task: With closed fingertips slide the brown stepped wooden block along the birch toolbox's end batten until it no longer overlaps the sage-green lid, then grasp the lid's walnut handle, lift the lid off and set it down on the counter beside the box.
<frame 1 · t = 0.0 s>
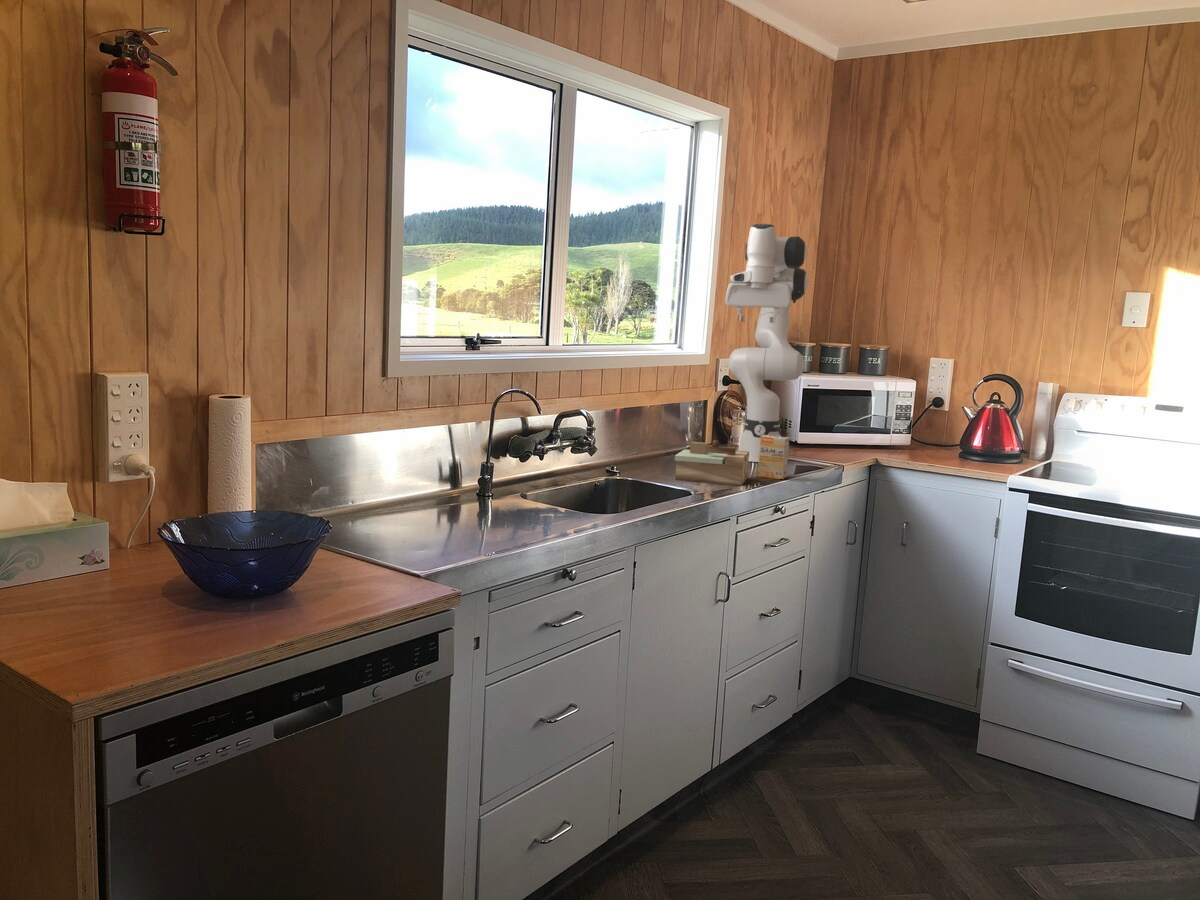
hand: (757, 322, 299), 48 cm above the counter, fingers open, 8 cm apart
supplement box: (772, 478, 301), on the counter
toolbox: (711, 479, 294), on the counter
lid: (702, 459, 294), point 6 cm above the counter, touching toolbox
brown stepped wooden block: (722, 447, 290), point 11 cm above the counter, slide at 0.0 cm
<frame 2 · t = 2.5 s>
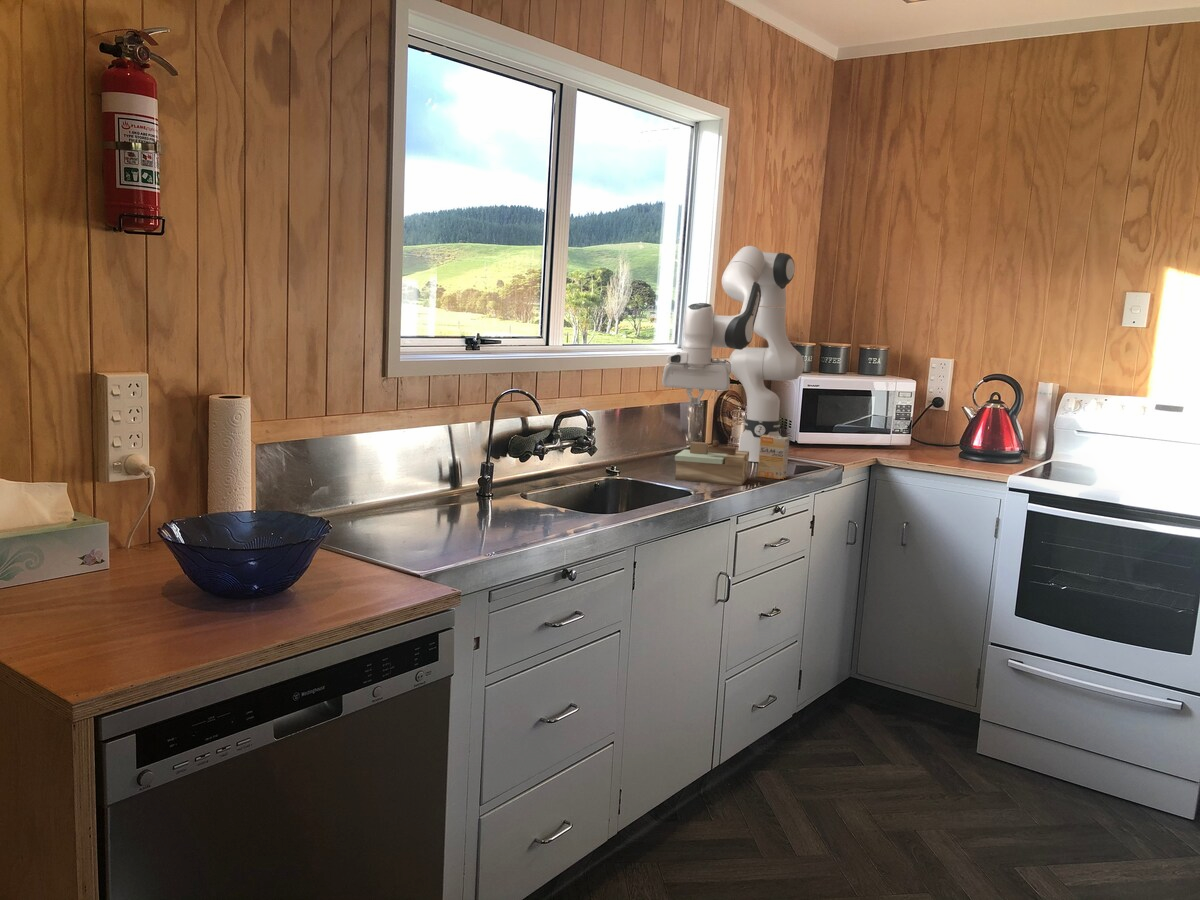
hand: (694, 403, 290), 23 cm above the counter, fingers closed
nothing on the counter moved.
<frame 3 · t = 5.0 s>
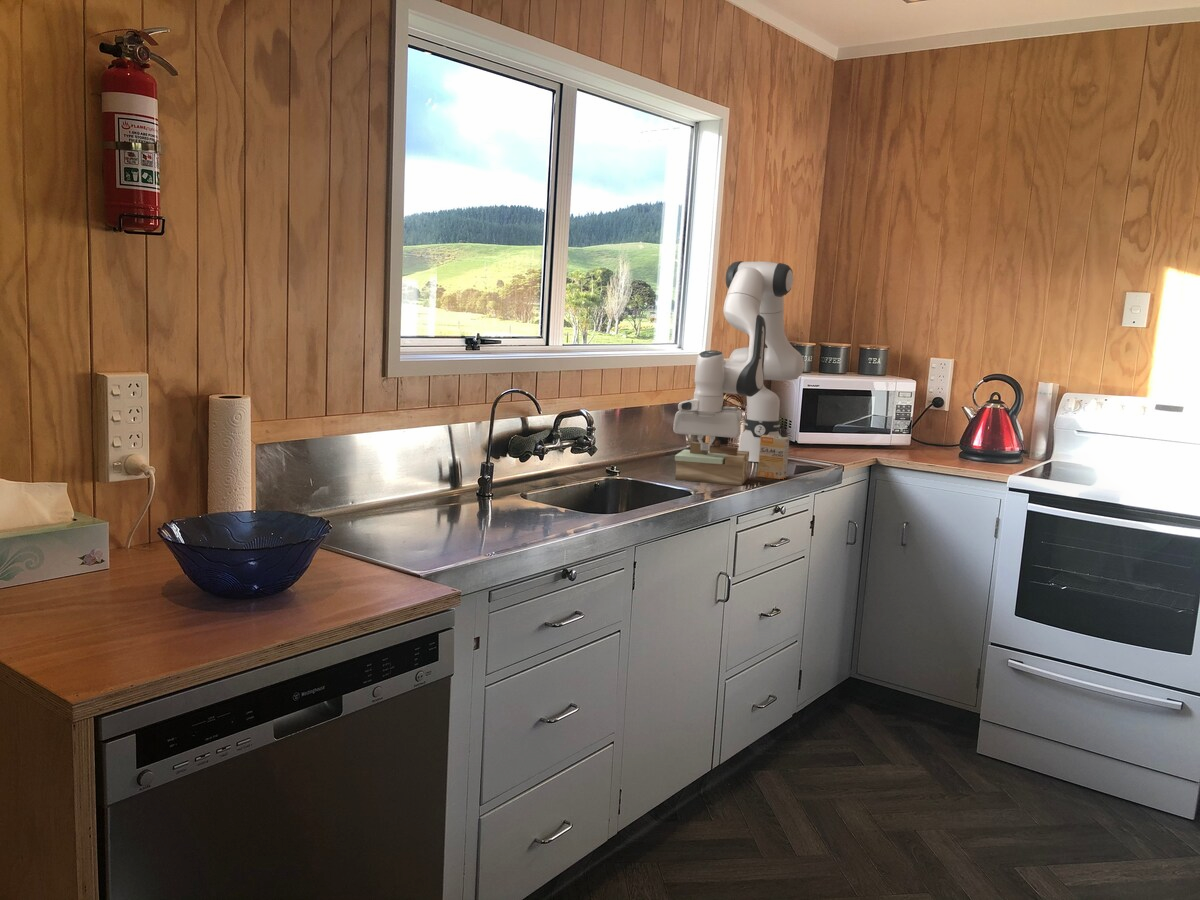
hand: (705, 450, 291), 9 cm above the counter, fingers closed
brown stepped wooden block: (723, 447, 289), point 10 cm above the counter, slide at 0.5 cm, touching gripper
everything else where it was.
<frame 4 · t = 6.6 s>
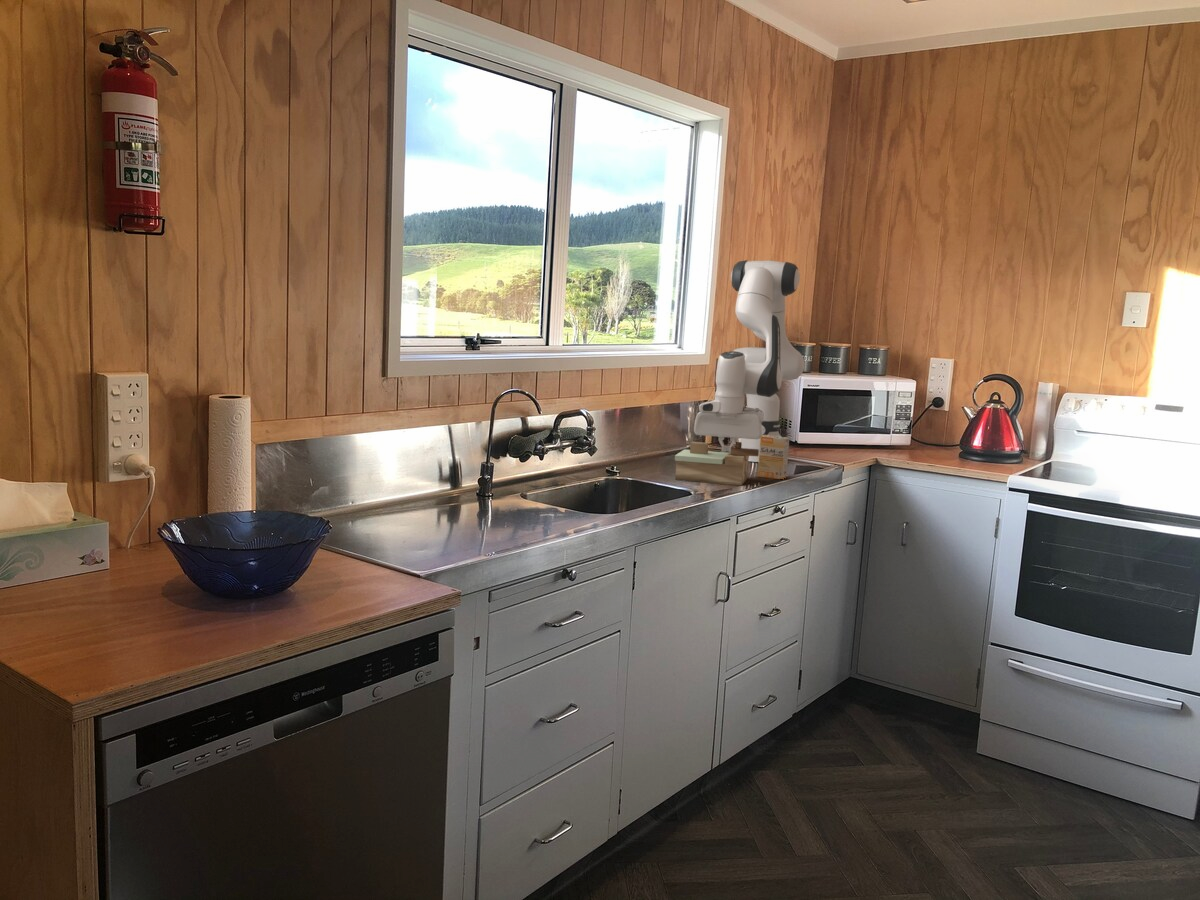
hand: (726, 451, 289), 9 cm above the counter, fingers closed
brown stepped wooden block: (745, 448, 288), point 11 cm above the counter, slide at 6.9 cm, touching gripper
everything else where it was.
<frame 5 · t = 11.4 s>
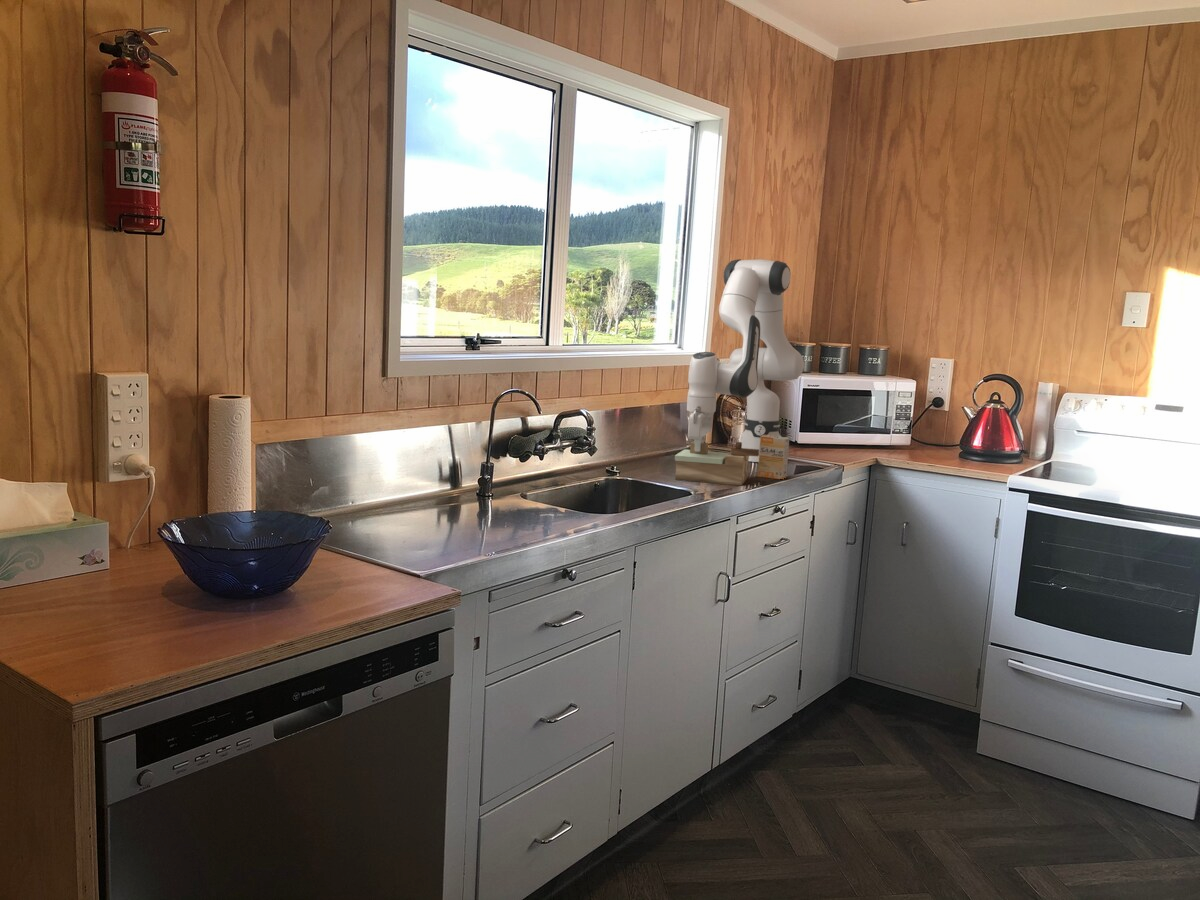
hand: (699, 450, 296), 8 cm above the counter, fingers closed on lid, 3 cm apart
lid: (702, 459, 294), point 6 cm above the counter, touching gripper, toolbox
brown stepped wooden block: (745, 448, 288), point 10 cm above the counter, slide at 7.0 cm
everything else where it was.
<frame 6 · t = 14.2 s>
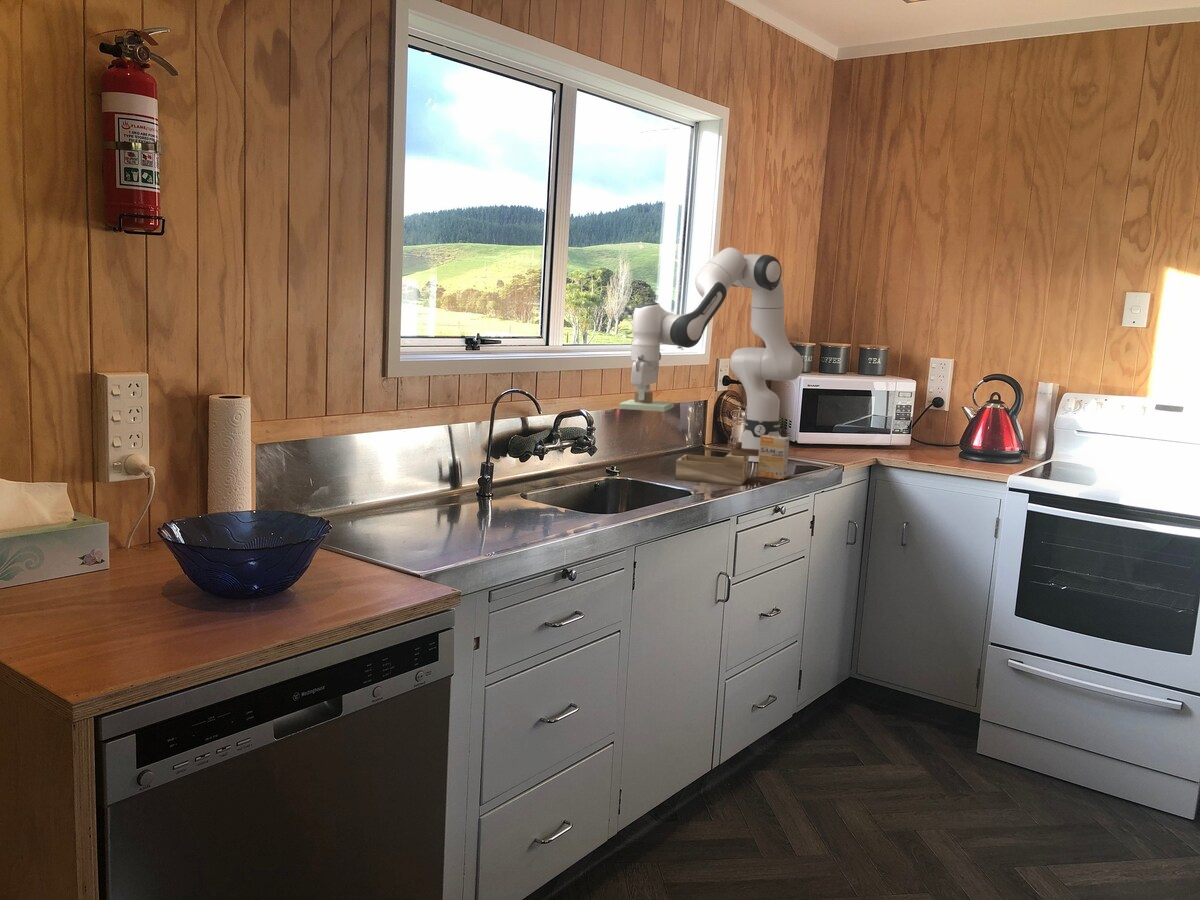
hand: (643, 399, 301), 23 cm above the counter, fingers closed on lid, 3 cm apart
lid: (646, 407, 299), point 20 cm above the counter, touching gripper
everything else where it was.
when the fingers open (4 cm above the counter, at t = 17.2 s): lid drops 3 cm, on the counter.
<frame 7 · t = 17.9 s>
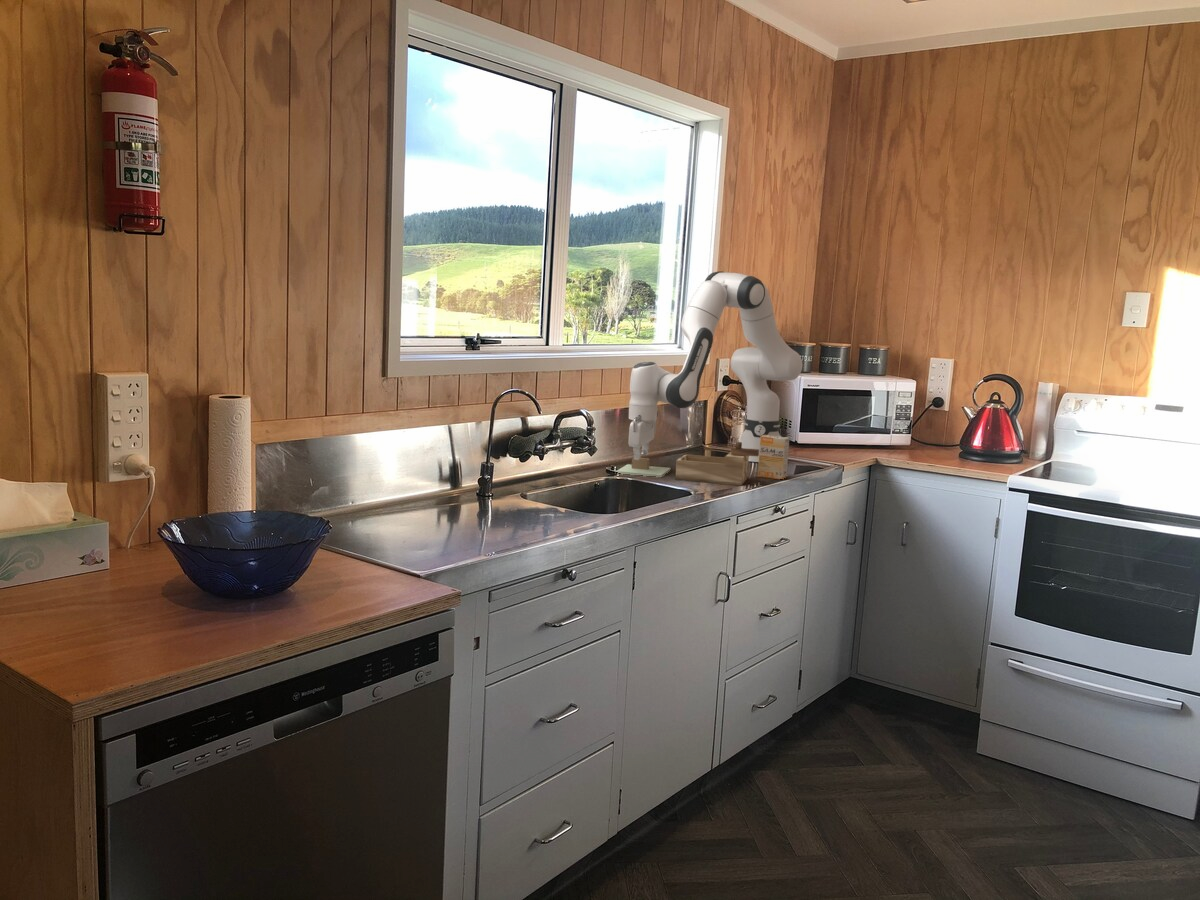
hand: (640, 457, 304), 4 cm above the counter, fingers open, 8 cm apart
lid: (643, 474, 303), on the counter
everything else where it was.
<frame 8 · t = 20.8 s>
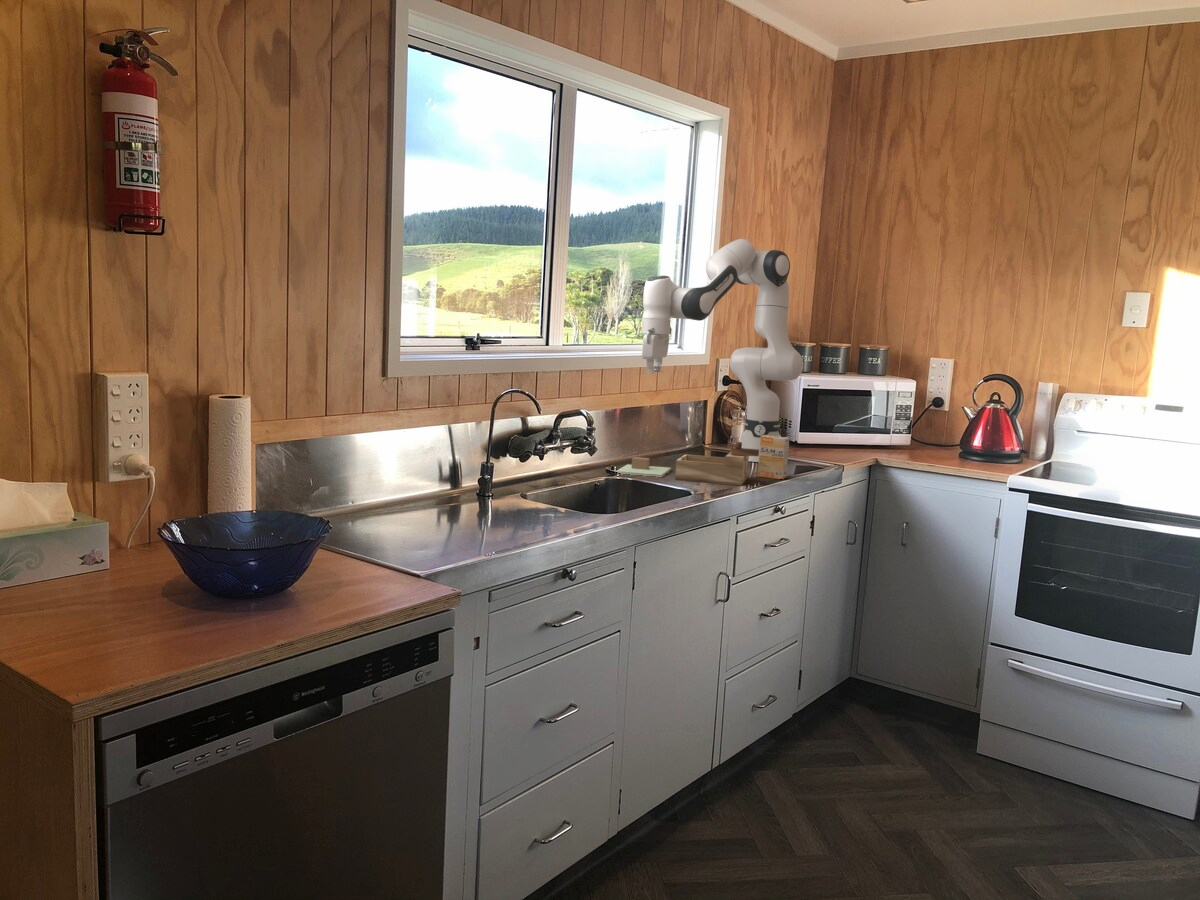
hand: (654, 372, 301), 31 cm above the counter, fingers open, 8 cm apart
nothing on the counter moved.
at the end: brown stepped wooden block slide at 7.0 cm; lid inside the target area (0.6 cm from its centre), on the counter; lid tilted 0° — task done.
